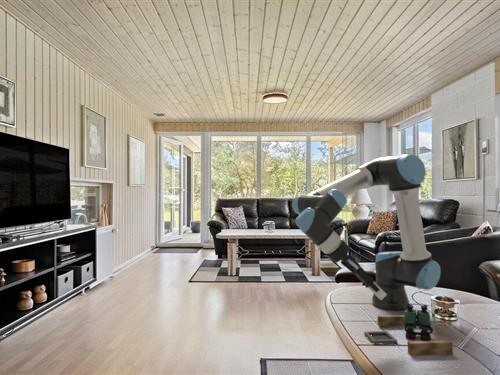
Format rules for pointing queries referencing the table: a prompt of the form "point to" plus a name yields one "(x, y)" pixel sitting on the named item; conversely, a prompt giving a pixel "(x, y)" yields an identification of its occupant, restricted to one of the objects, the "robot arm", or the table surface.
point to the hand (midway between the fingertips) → (383, 296)
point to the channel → (417, 346)
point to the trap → (380, 337)
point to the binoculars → (417, 323)
